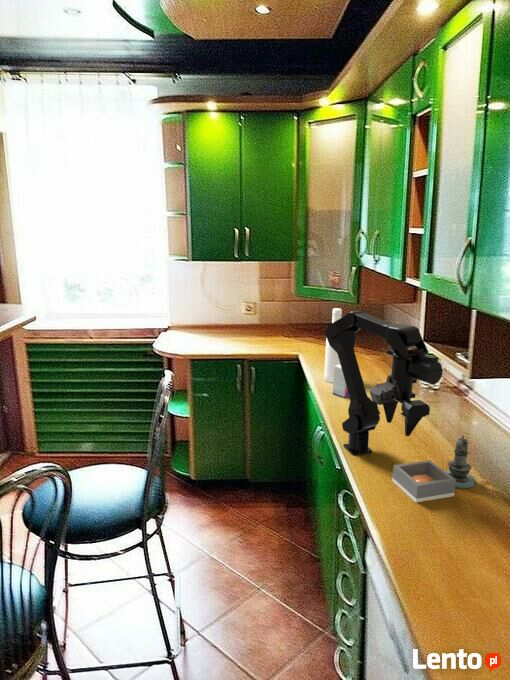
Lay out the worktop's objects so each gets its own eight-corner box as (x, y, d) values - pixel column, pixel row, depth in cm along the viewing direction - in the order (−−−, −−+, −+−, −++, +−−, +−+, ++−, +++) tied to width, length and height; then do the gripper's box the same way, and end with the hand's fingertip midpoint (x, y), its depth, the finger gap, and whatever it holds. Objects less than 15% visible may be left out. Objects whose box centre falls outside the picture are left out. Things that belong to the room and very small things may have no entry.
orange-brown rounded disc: (407, 480, 140) (407, 476, 139) (425, 477, 141) (426, 473, 141) (419, 491, 135) (420, 486, 134) (438, 487, 136) (439, 483, 136)
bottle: (322, 381, 221) (325, 310, 214) (326, 376, 228) (329, 306, 221) (341, 384, 218) (345, 311, 211) (344, 378, 226) (348, 308, 218)
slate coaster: (434, 475, 145) (435, 472, 145) (461, 471, 148) (461, 468, 147) (454, 490, 137) (454, 487, 137) (481, 486, 140) (482, 483, 140)
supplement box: (343, 398, 202) (345, 369, 200) (332, 394, 207) (333, 365, 204) (353, 395, 206) (355, 366, 203) (342, 390, 210) (343, 362, 208)
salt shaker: (464, 472, 145) (469, 431, 142) (473, 483, 140) (479, 440, 137) (442, 472, 145) (447, 430, 142) (451, 483, 139) (456, 440, 136)
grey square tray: (392, 480, 142) (393, 465, 141) (428, 475, 145) (429, 460, 144) (415, 502, 132) (417, 485, 130) (454, 496, 135) (456, 479, 134)
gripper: (358, 365, 148) (355, 419, 151) (394, 387, 130) (389, 446, 134) (394, 363, 151) (390, 415, 155) (433, 383, 134) (428, 441, 137)
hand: (398, 428), depth 145 cm, fingers open, 9 cm apart
